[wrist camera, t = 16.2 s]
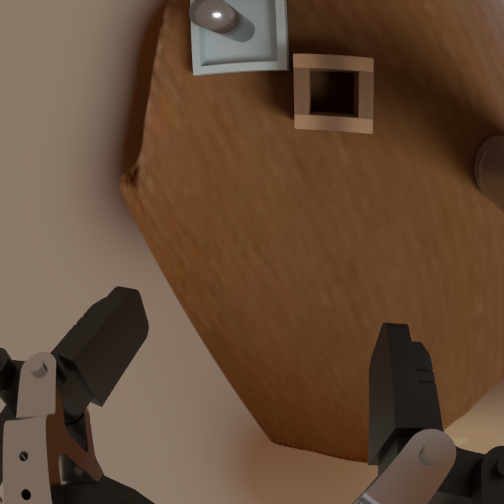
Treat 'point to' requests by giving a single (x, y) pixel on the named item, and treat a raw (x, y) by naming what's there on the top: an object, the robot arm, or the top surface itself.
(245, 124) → the top surface
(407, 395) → the robot arm
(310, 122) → the square hollow tube
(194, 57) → the tray
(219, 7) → the pin
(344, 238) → the top surface
